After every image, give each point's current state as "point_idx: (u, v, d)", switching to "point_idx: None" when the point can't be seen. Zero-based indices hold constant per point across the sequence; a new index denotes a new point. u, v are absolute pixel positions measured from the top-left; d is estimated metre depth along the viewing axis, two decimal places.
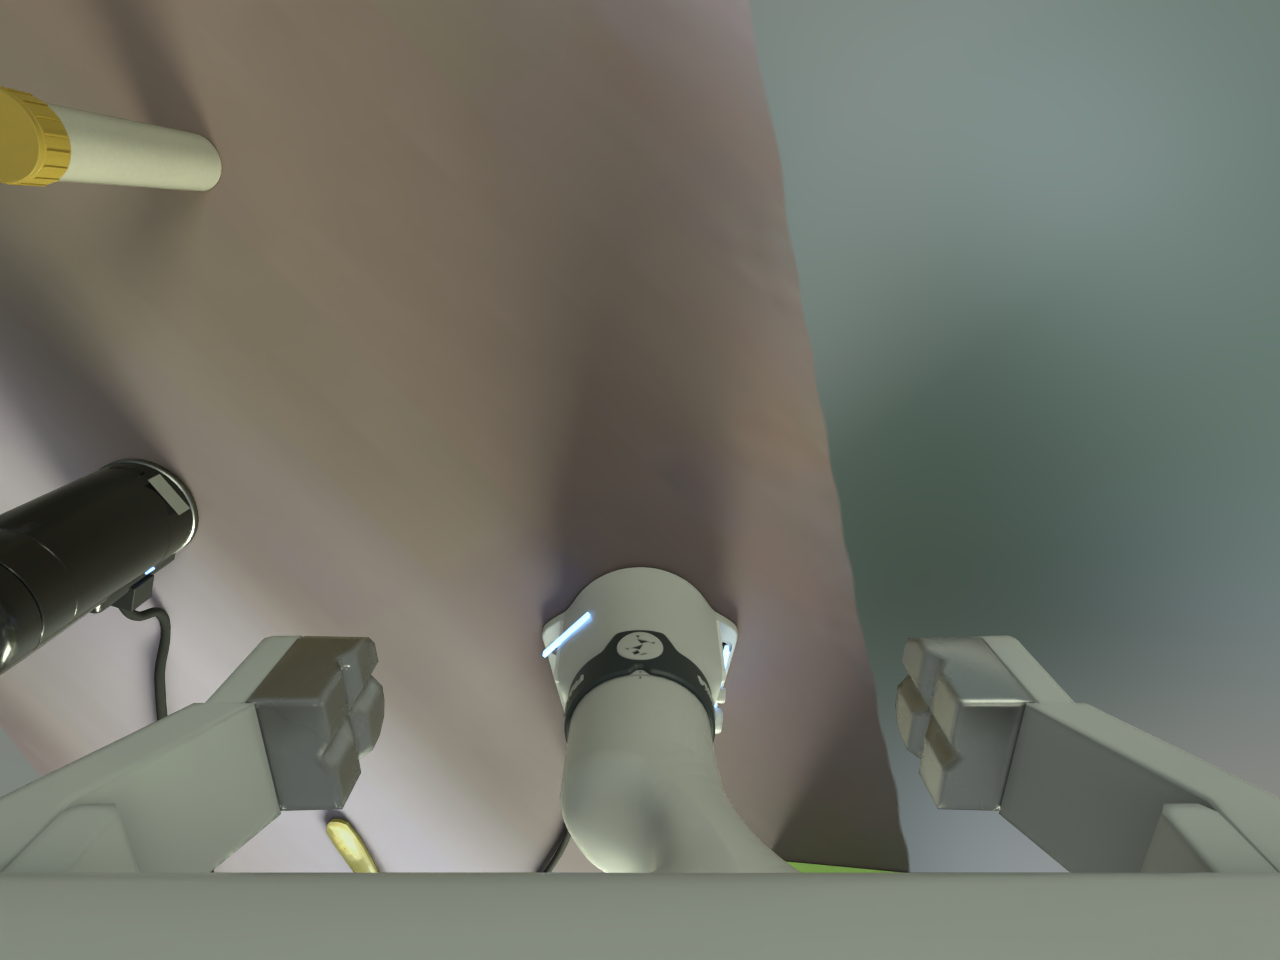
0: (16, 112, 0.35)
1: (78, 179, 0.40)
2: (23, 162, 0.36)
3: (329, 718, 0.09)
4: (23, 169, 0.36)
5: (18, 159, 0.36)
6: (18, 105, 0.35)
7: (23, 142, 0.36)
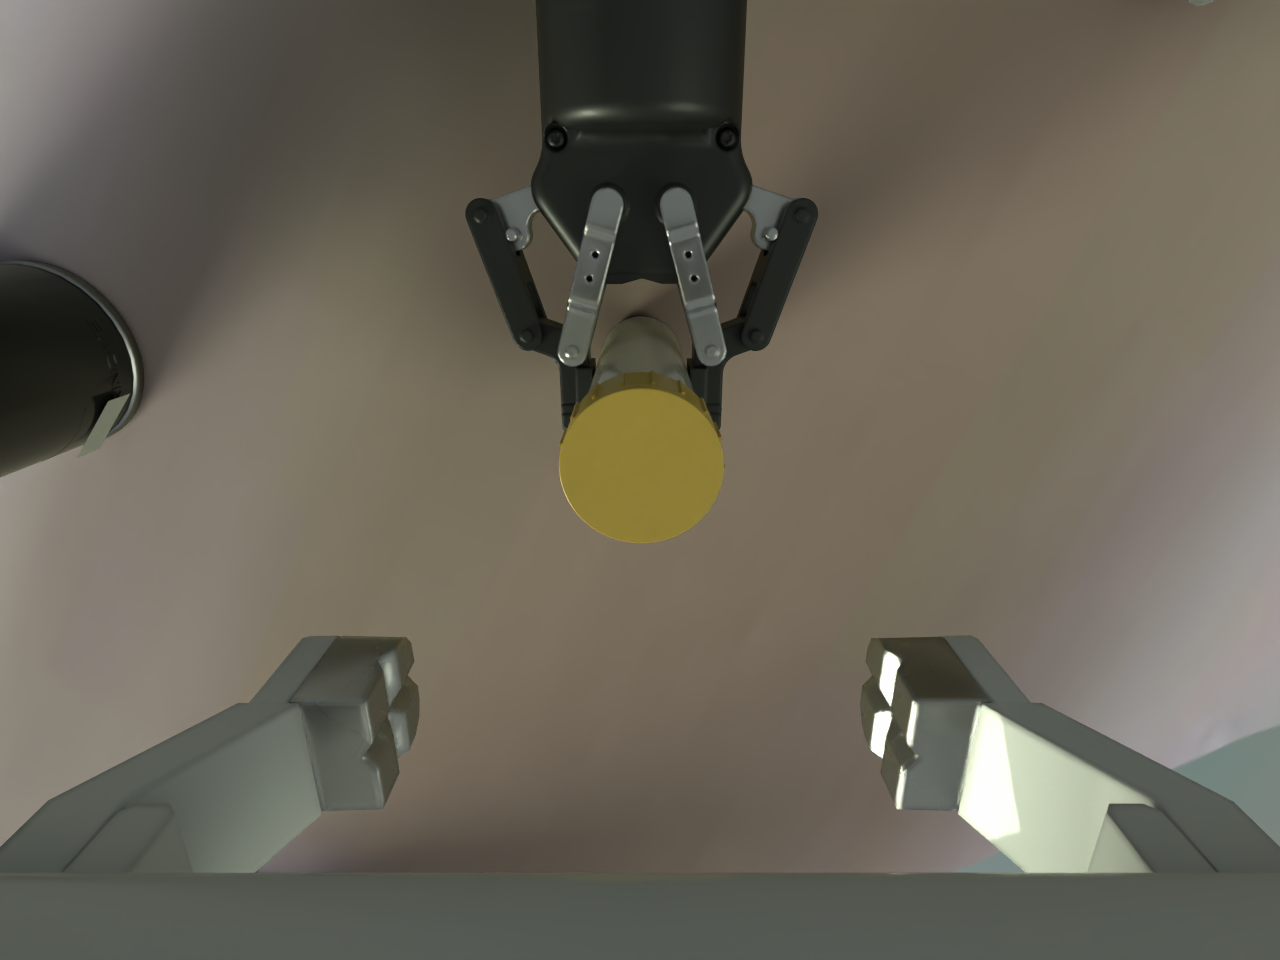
0: (694, 504, 0.19)
1: None
2: (613, 520, 0.20)
3: (371, 718, 0.09)
4: (600, 520, 0.20)
5: (615, 512, 0.20)
6: (706, 505, 0.20)
7: (647, 518, 0.20)
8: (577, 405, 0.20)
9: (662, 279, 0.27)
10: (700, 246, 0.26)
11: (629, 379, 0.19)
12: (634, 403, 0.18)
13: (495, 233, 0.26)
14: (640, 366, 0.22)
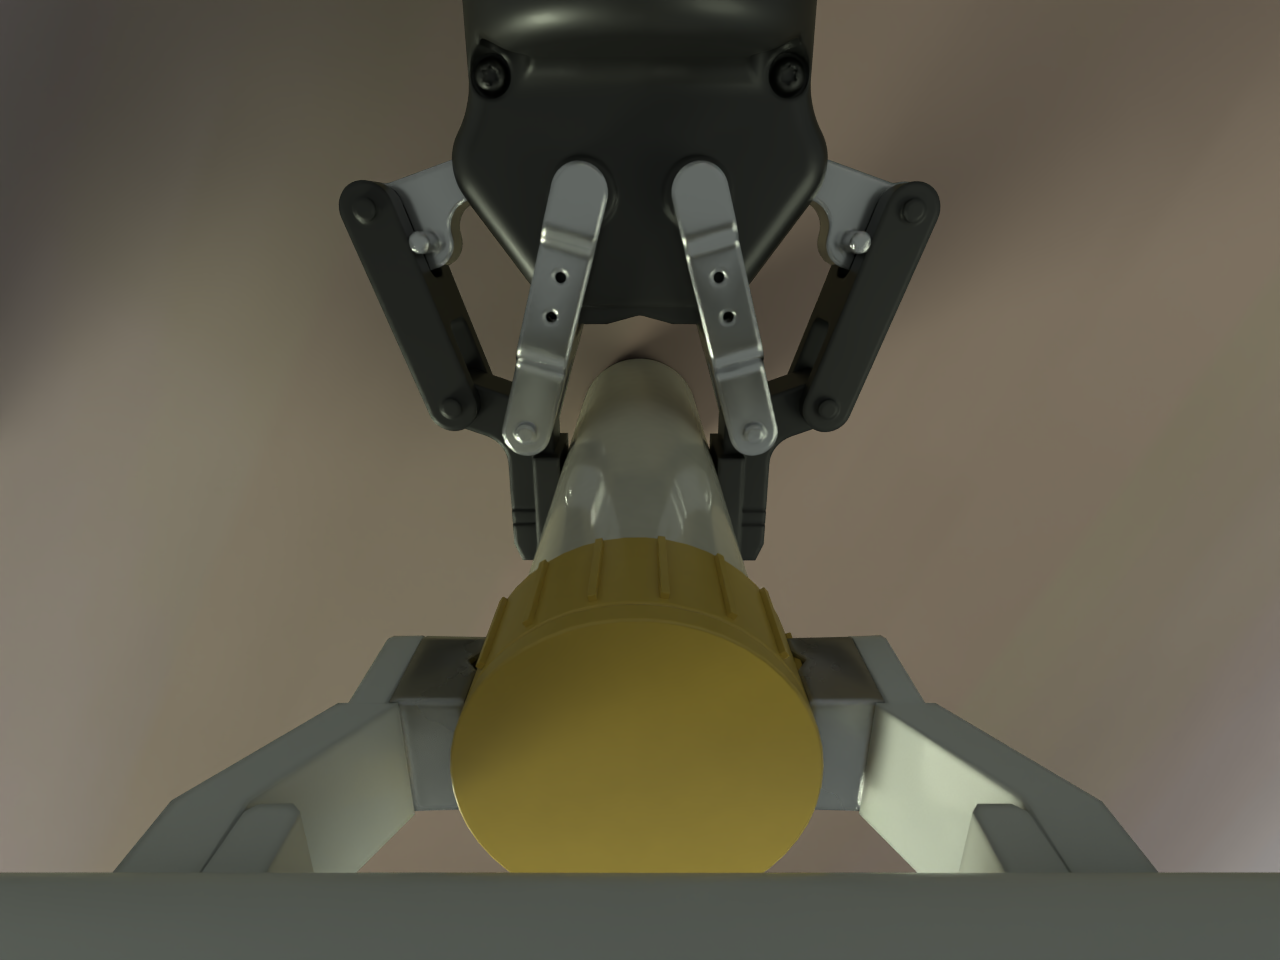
0: (753, 845, 0.09)
1: None
2: None
3: None
4: (548, 872, 0.09)
5: (578, 860, 0.09)
6: (780, 843, 0.09)
7: (650, 869, 0.09)
8: (502, 608, 0.10)
9: (674, 317, 0.16)
10: (740, 263, 0.15)
11: (610, 570, 0.09)
12: (620, 651, 0.08)
13: (391, 240, 0.15)
14: (636, 496, 0.12)
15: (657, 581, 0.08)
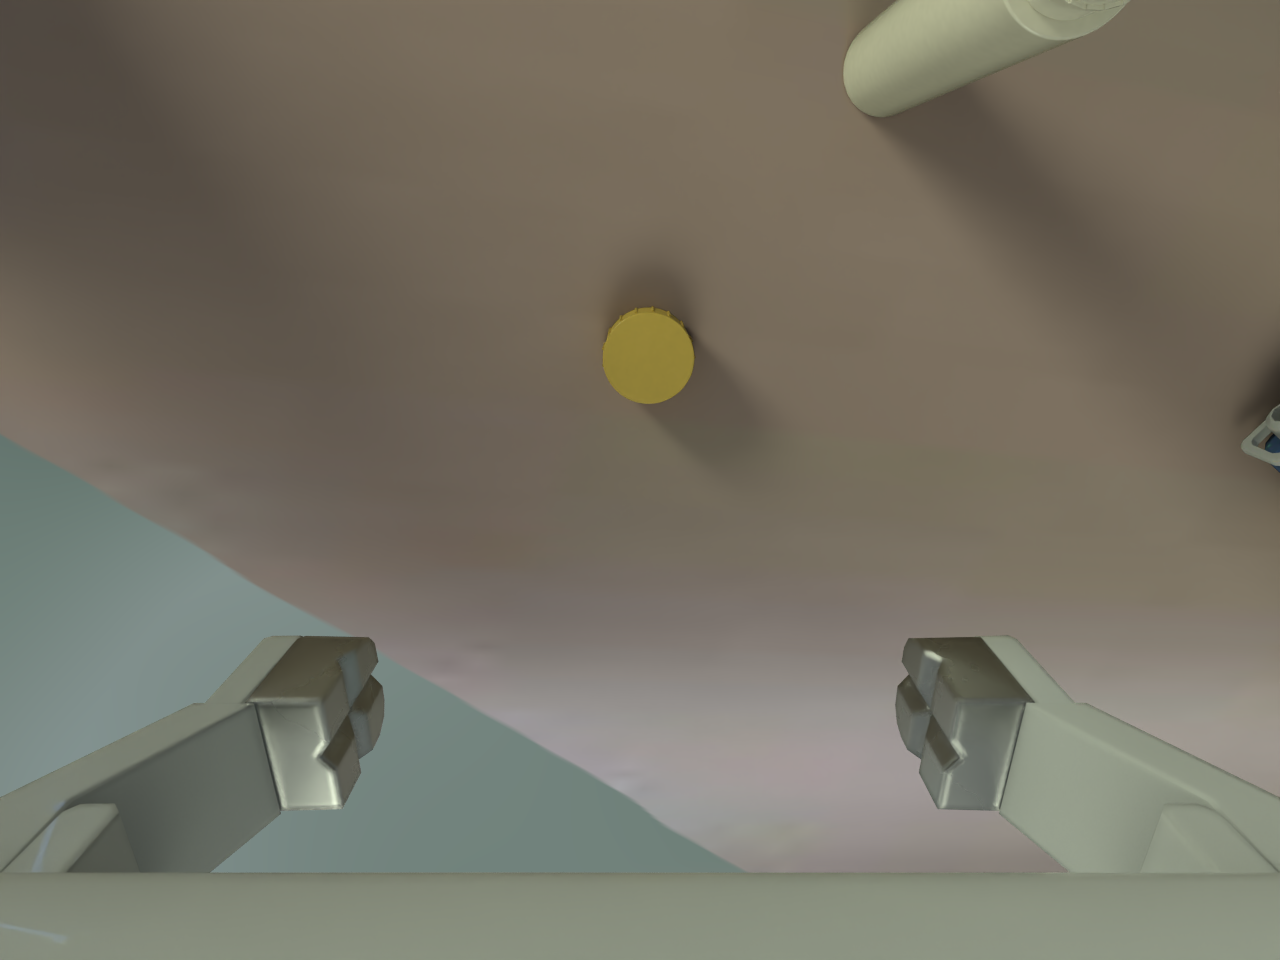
0: (679, 379, 0.35)
1: None
2: (634, 390, 0.35)
3: (329, 718, 0.09)
4: (627, 390, 0.35)
5: (635, 385, 0.35)
6: (686, 379, 0.35)
7: (653, 388, 0.35)
8: (610, 328, 0.36)
9: None
10: None
11: (639, 310, 0.35)
12: (643, 321, 0.34)
13: None
14: None
15: (651, 309, 0.34)
